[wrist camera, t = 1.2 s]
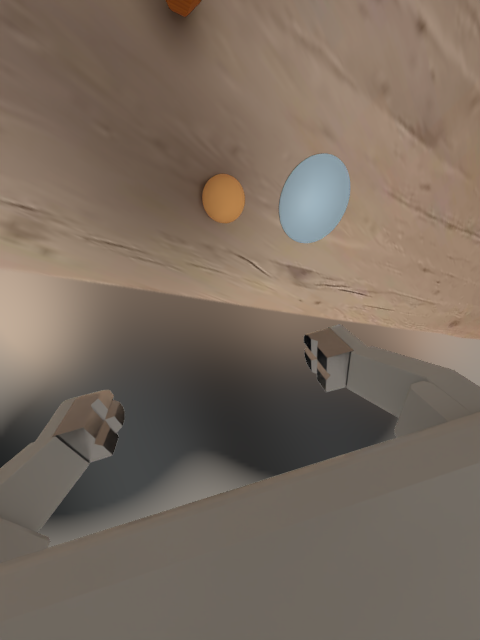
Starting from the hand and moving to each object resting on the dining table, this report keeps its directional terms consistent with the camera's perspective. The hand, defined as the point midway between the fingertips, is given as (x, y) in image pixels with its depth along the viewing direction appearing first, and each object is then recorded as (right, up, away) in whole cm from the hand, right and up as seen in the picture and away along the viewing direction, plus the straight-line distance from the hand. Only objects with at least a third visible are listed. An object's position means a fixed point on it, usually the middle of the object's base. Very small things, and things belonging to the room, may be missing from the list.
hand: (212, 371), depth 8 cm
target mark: (+13, +20, +23) cm, 34 cm away
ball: (-1, +17, +17) cm, 25 cm away
